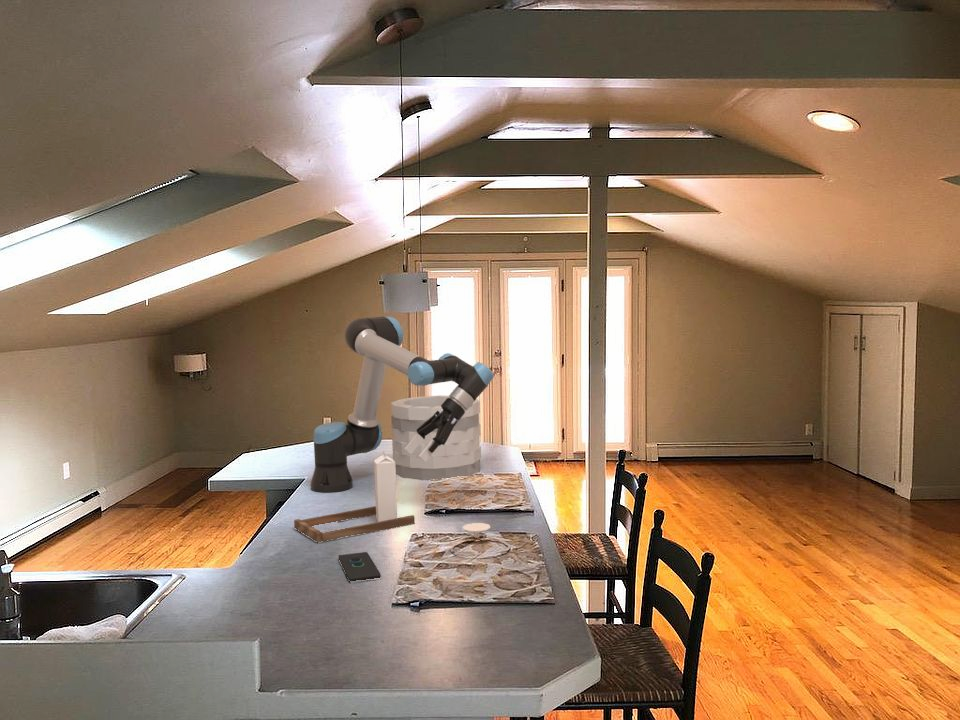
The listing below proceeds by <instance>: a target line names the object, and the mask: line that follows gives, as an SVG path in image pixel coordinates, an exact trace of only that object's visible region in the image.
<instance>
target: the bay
mask: <svg viewBox="0 0 960 720" xmlns="http://www.w3.org/2000/svg"><path fill="white" fill-rule="evenodd" d="M365 516H367V517H371V516H376V505H374V506H369V507H363V508H359V509H353V510H348V511H343V512H337V513H333V514H332V513H331V514H327V515H321V516H315V517H311V518H310V517H309V518H305V519H299V518H297V519H293V525H294V526H293V527H294V528H296V529H297V530H299V531H300V532H302V533H304V534H305V535H307V536H309V537H310V538H312V539H313V540H315V541H317V542H321V541H327V540H331V539H337V538H340V537H345V536H351V535H357V534H363V533H367V534H371V533H370V532H372V533H376V532H375V531H377V532H381V531H380V530H382V531H387V530H390V529H391V528H392V529H396V527H397V528H401V527H400V526H402V527H406V526H412V525H415V524H416V523H415V519H416V518H415V515H414V514H411V515H407V516H406V515H405V516H401V517H397V518H395V519H390V520H385V521H380V522H378V521H376V522H371V523H367V524H366V523H365V524H361V525H356V526H352V527H348V528H345V529H340V530H335V531H330V532H325V533H322V532H320V531H319V530H317V529H315V528H314V527H312V526H314V525H319V524H325V523H331V522H336V521H341V520H346V519H352V518H357V519H360V518H359V517H362V518H366V517H365ZM352 520H353V519H352ZM346 521H347V520H346ZM341 522H342V521H341ZM338 523H340V522H338ZM386 529H387V530H386ZM392 529H391V530H392ZM300 532H299V533H300ZM305 535H304V536H305ZM363 535H364V534H363ZM313 540H312V541H313Z"/></svg>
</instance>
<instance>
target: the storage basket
mask: <svg viewBox="0 0 960 720" xmlns="http://www.w3.org/2000/svg"><path fill="white" fill-rule="evenodd" d="M447 398H450V397H449V395H425V396H415V397H407V398H401V399H398V400H397V399H396V400H395V401H392V402H390V407H391V409H390V411H391V413H390V414H391V433H392V435H391V436H392V440H391V441H392V459H393V460H394V462H395V467H396V476H398V477H400V478H403V479H411V480H417V481H418V480H419V481H431V480H430V479H442V478H451V477H457V476H468V475H470V476H472V474H473V475H474V474H478V473H479V472H480V471H481V459H482V446H481V445H480V442H481V441H480V436H482V435H481V424H480V413H481V401H480V399H478V398H476V400H475V401H474V402H473V404H472V407H469V409H468V410H464V411H465V414H464V415H463V416H462V417H461V418H460V420H457V421H458V422H457V423H456V425H455V426H454V428H453V430H452V431H451V433H450V435H449V437H448V439H447V441H446V443H445V444H444V445H442V444H441V445H440V446H438V448H437V449H436V450H435V451H434V452H433V454H432V455H431V456H430V457H429V458H428V460H427V461H426V462H425V461H423V460H422V459H421V458H420V457H419V455H420V454H421V453H422V452H423V450H424V449H425V448H426V447H427V446H428V444H429V443H430V442H431V441H432V440H433V438H435V436H436V433H437V431H438V429H435V430H434V431H432V432H431V433H429V434H428V435H426V436H425V439H423V441H422V442H421V443H420V444H419V445H418V447H417V448H416V449H415V450H414V451H413V453H412V454H410V453H409V452H407V451H406V450H405V447H406V446H407V445H408V444H409V443H410V442H411V440H412V439H413V438H414V437H415V436H416V434H417V431H416V430H417V429H418V428H419V427H420V426H421V425H422V424H424V423H425V422H426V421H427V420H428V419H430V418H431V417H432V416H433V415H434V414H435V413H436V412H437V411H439V412H440V413H441V412H442V411H443V409H442V407H441V405H442V404H443V402H444V401H445V400H446V399H447ZM443 440H444V439H443ZM433 441H434V440H433ZM434 442H435V441H434ZM468 477H469V476H468Z"/></svg>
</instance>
